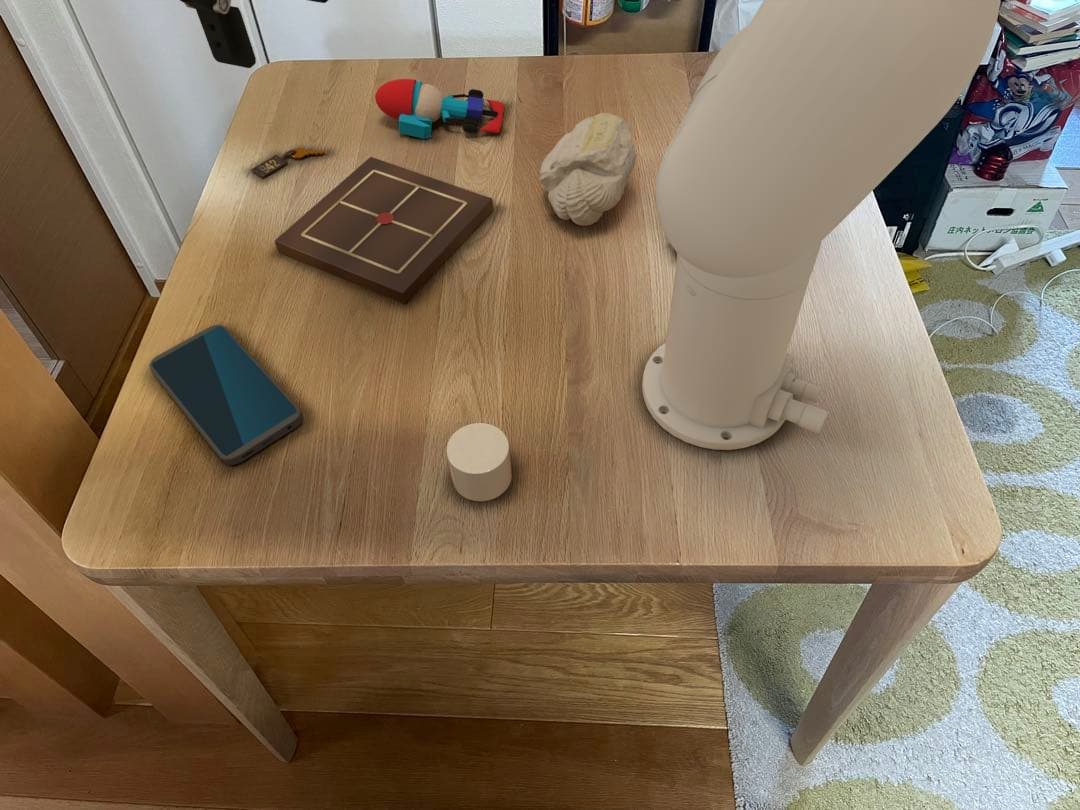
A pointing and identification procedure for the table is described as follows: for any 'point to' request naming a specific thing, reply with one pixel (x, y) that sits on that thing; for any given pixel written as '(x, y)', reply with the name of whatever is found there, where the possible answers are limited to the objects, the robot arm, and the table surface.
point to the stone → (479, 461)
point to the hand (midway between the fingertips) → (275, 29)
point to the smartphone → (226, 394)
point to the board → (385, 228)
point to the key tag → (281, 161)
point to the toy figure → (434, 108)
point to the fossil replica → (589, 168)
